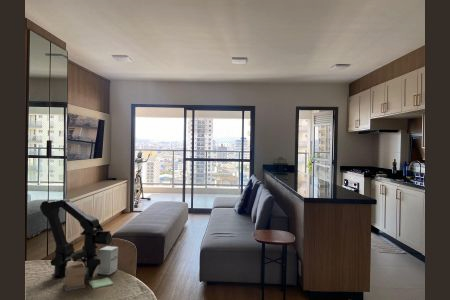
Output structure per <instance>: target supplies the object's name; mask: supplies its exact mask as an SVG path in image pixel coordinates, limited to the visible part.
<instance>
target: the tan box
mask: <svg viewBox="0 0 450 300" xmlns="http://www.w3.org/2000/svg"><path fill="white" fill-rule="evenodd" d="M83 264H84V263H79V264H74V265H67V266H66V271H65V277H64V283H63V285H62V287H63V288H64V290H65V292H69V291H74V290H80V289H84V288H86V284H85V279H84V274H85V265H83Z"/></svg>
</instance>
